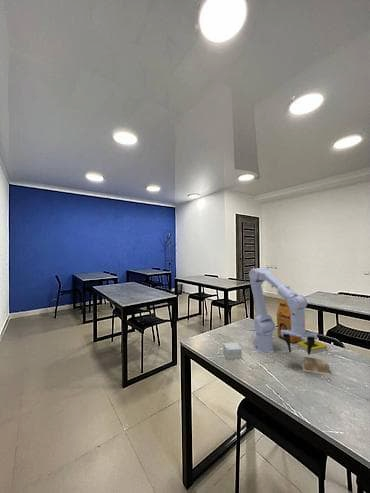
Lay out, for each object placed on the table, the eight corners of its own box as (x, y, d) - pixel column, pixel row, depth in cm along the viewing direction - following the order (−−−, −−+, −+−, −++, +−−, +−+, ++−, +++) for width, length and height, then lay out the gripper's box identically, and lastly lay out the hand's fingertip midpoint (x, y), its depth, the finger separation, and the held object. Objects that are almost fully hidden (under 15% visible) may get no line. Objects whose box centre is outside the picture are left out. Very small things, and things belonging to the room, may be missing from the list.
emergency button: (294, 340, 117) (316, 336, 121) (294, 348, 117) (316, 344, 121) (307, 347, 108) (331, 343, 112) (308, 356, 108) (331, 351, 112)
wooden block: (305, 360, 95) (329, 364, 91) (303, 356, 98) (326, 359, 95) (305, 369, 95) (329, 373, 91) (304, 365, 98) (327, 368, 95)
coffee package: (290, 344, 120) (289, 305, 121) (275, 336, 132) (273, 300, 132) (304, 341, 123) (303, 303, 124) (288, 333, 135) (286, 299, 135)
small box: (237, 351, 115) (237, 342, 115) (242, 359, 107) (241, 348, 107) (223, 352, 115) (223, 342, 115) (226, 359, 107) (226, 349, 107)
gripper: (280, 323, 97) (282, 354, 96) (318, 327, 91) (319, 359, 91) (280, 318, 103) (281, 347, 103) (314, 321, 98) (316, 351, 98)
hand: (299, 352), depth 97 cm, fingers open, 7 cm apart
